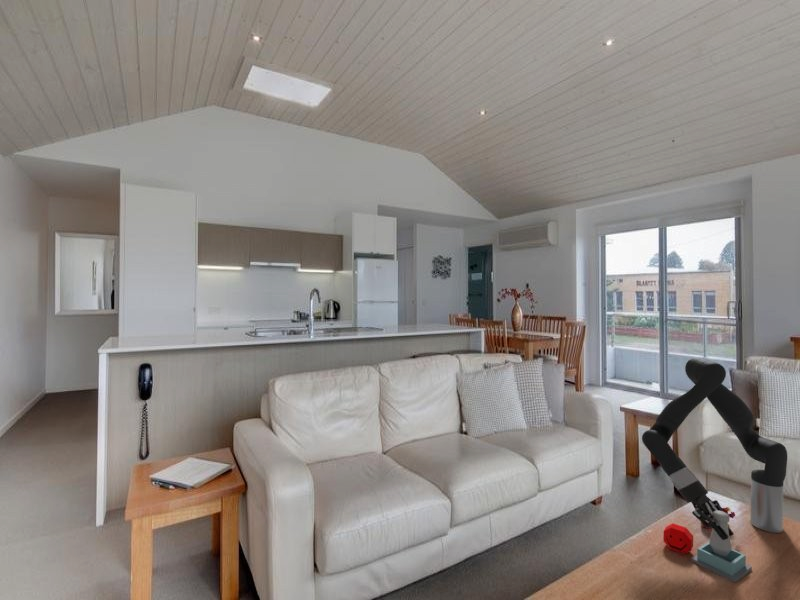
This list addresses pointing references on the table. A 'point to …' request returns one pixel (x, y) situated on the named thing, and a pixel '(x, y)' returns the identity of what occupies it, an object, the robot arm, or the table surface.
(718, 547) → the salt shaker
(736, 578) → the stand
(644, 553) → the table surface
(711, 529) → the book monster
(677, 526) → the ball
